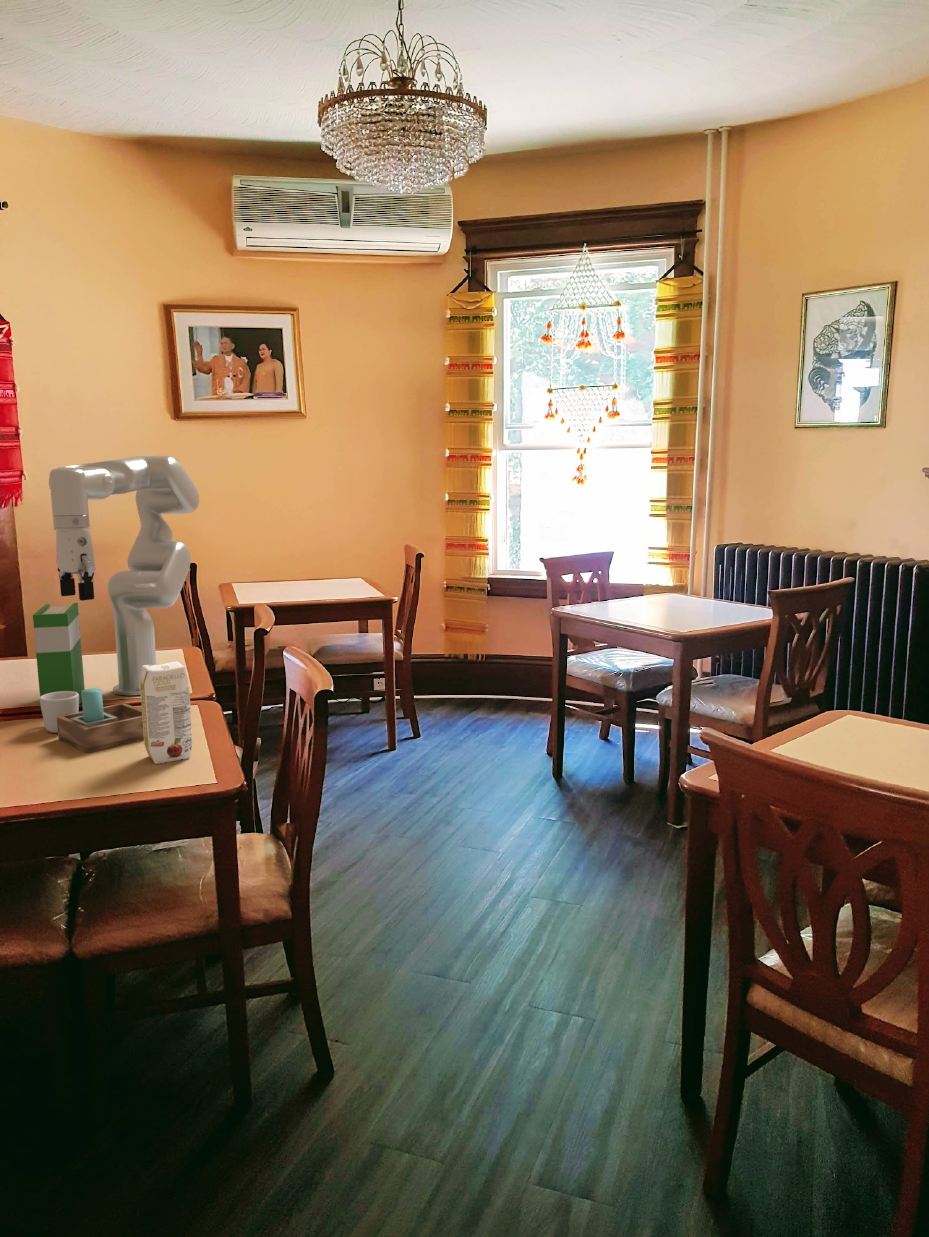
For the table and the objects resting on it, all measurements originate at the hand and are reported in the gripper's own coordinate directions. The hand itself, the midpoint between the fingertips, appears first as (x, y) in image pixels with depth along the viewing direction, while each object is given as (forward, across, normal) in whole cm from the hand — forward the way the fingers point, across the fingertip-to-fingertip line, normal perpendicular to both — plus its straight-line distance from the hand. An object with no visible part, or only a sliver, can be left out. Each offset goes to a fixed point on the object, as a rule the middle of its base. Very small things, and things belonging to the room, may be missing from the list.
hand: (77, 597), depth 200 cm
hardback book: (+28, +15, -1) cm, 32 cm away
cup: (+28, -5, +9) cm, 30 cm away
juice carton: (+28, -42, +2) cm, 51 cm away
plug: (+27, -20, +7) cm, 34 cm away
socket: (+28, -20, +7) cm, 35 cm away
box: (+28, -20, +5) cm, 35 cm away
